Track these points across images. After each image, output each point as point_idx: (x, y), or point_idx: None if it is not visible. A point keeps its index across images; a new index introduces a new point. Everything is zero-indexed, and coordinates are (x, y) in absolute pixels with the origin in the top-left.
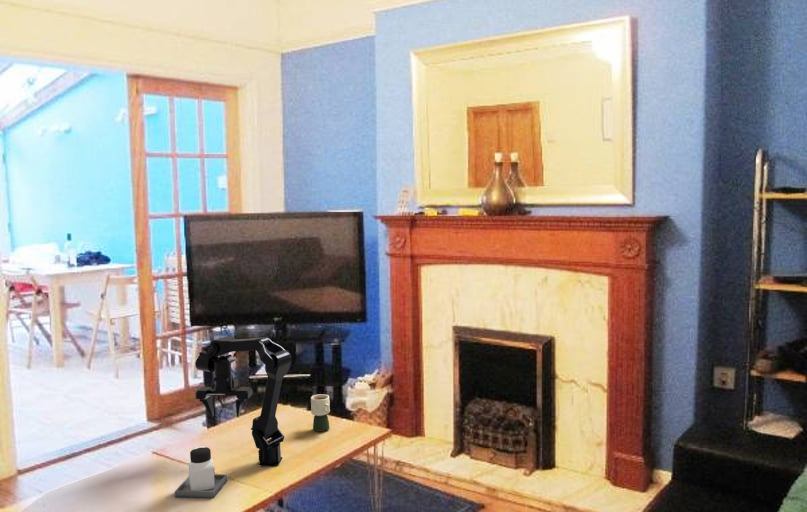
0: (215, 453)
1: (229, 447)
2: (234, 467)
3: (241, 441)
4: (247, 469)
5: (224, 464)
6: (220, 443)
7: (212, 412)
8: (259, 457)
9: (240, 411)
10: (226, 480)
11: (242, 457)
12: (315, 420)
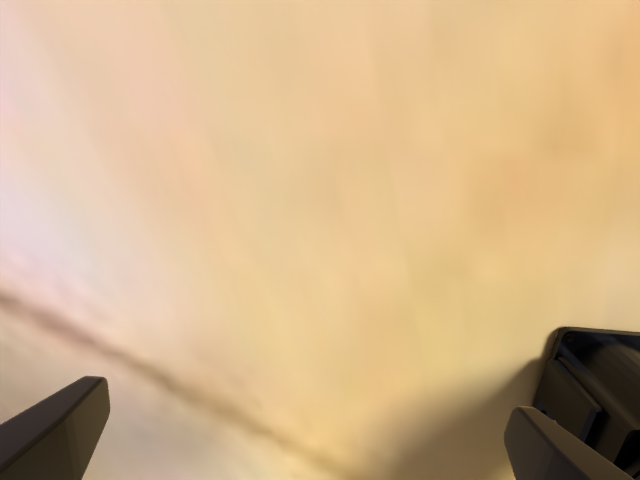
0: (237, 234)
1: (305, 136)
2: (402, 413)
3: (373, 11)
4: (472, 435)
5: (340, 380)
6: (209, 45)
7: (65, 474)
8: (554, 416)
9: (605, 466)
10: None
11: (427, 302)
12: None
